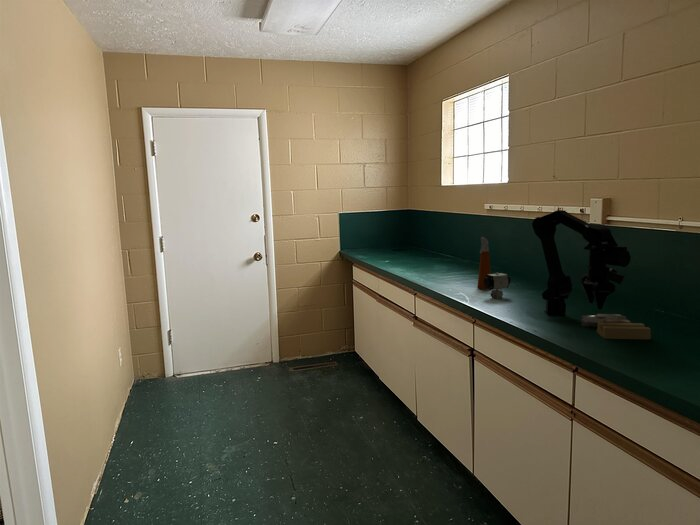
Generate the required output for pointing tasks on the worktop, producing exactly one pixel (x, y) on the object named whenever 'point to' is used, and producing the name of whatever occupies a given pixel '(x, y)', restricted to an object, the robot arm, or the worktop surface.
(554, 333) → the worktop surface
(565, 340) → the worktop surface
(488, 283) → the pneumatic valve
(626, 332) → the v block
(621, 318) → the axle
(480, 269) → the spray bottle
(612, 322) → the bore beam
